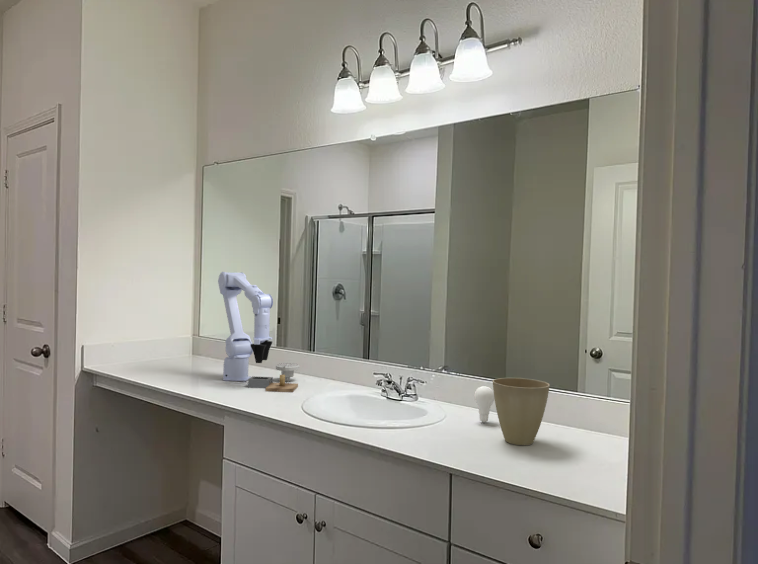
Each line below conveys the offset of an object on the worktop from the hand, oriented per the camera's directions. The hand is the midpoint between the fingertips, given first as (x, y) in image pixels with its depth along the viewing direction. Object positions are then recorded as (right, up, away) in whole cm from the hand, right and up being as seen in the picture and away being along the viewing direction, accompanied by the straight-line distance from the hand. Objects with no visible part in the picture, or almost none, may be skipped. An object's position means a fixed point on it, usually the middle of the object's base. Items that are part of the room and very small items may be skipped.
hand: (261, 361), depth 213 cm
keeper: (+8, -10, -3) cm, 13 cm away
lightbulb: (+76, -12, -44) cm, 89 cm away
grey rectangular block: (0, -10, 0) cm, 10 cm away
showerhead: (+8, -10, +12) cm, 17 cm away
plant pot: (+82, -13, -62) cm, 104 cm away
